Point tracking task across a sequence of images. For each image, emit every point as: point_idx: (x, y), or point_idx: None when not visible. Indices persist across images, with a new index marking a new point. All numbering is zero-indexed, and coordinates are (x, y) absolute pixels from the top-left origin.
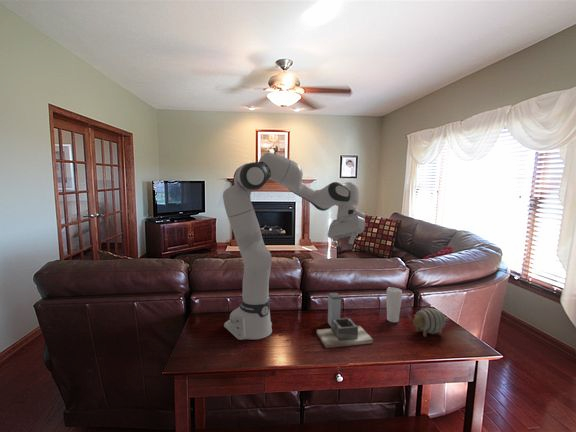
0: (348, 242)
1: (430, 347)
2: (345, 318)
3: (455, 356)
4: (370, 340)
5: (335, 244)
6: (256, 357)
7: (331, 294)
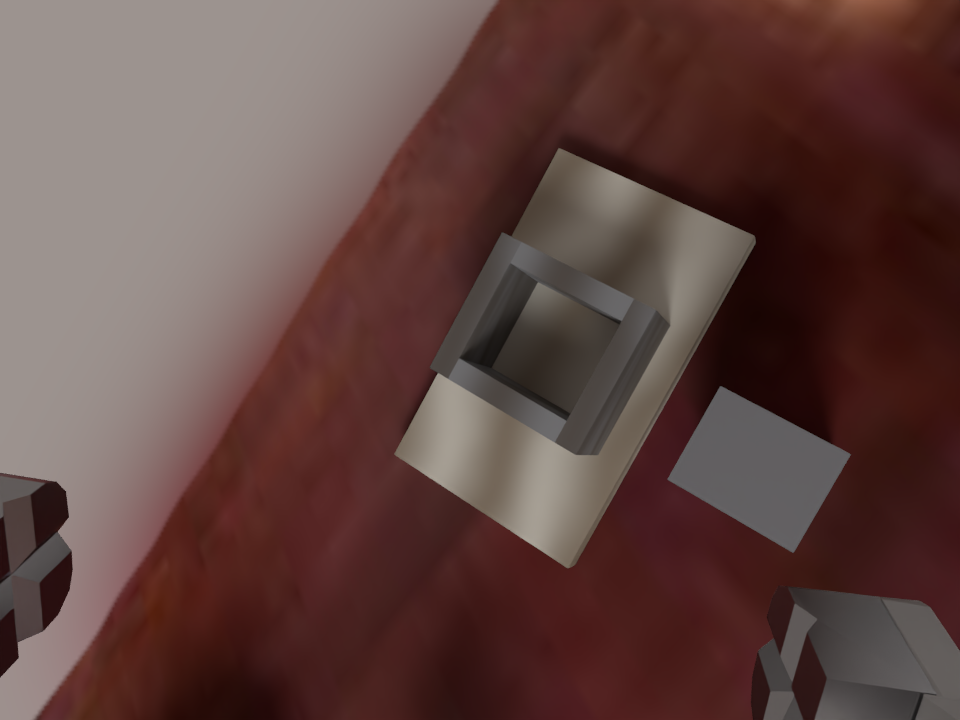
0: (34, 478)
1: (169, 680)
2: (583, 414)
3: (64, 680)
4: (405, 437)
5: (811, 604)
6: None
7: (796, 450)
